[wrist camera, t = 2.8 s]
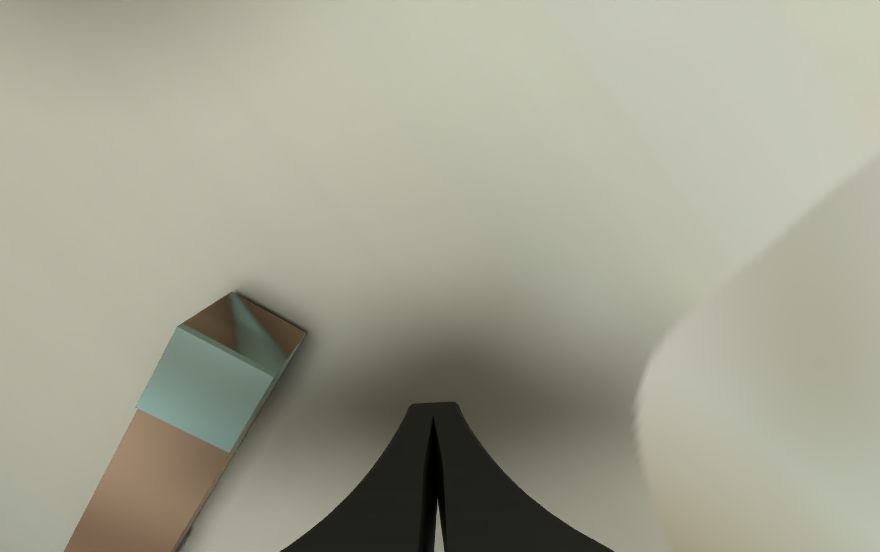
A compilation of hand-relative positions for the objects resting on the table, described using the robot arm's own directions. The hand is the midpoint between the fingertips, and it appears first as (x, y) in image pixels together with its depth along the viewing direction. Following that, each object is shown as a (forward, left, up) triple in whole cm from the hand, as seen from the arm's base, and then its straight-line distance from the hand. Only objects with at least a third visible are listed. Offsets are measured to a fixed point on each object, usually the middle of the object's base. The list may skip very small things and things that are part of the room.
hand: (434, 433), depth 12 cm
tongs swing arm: (-3, +9, -1) cm, 9 cm away
